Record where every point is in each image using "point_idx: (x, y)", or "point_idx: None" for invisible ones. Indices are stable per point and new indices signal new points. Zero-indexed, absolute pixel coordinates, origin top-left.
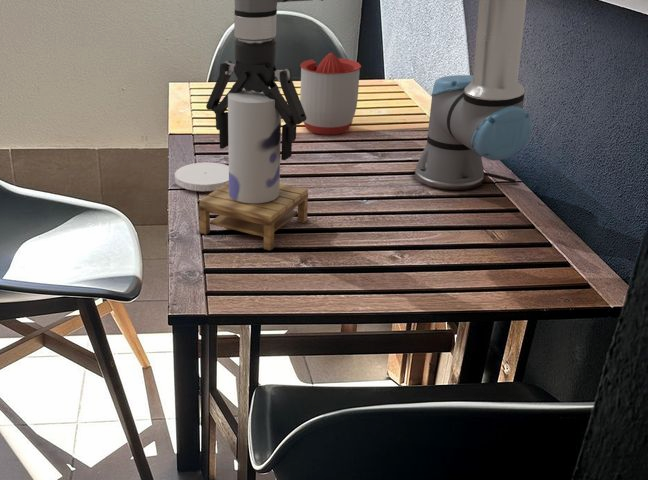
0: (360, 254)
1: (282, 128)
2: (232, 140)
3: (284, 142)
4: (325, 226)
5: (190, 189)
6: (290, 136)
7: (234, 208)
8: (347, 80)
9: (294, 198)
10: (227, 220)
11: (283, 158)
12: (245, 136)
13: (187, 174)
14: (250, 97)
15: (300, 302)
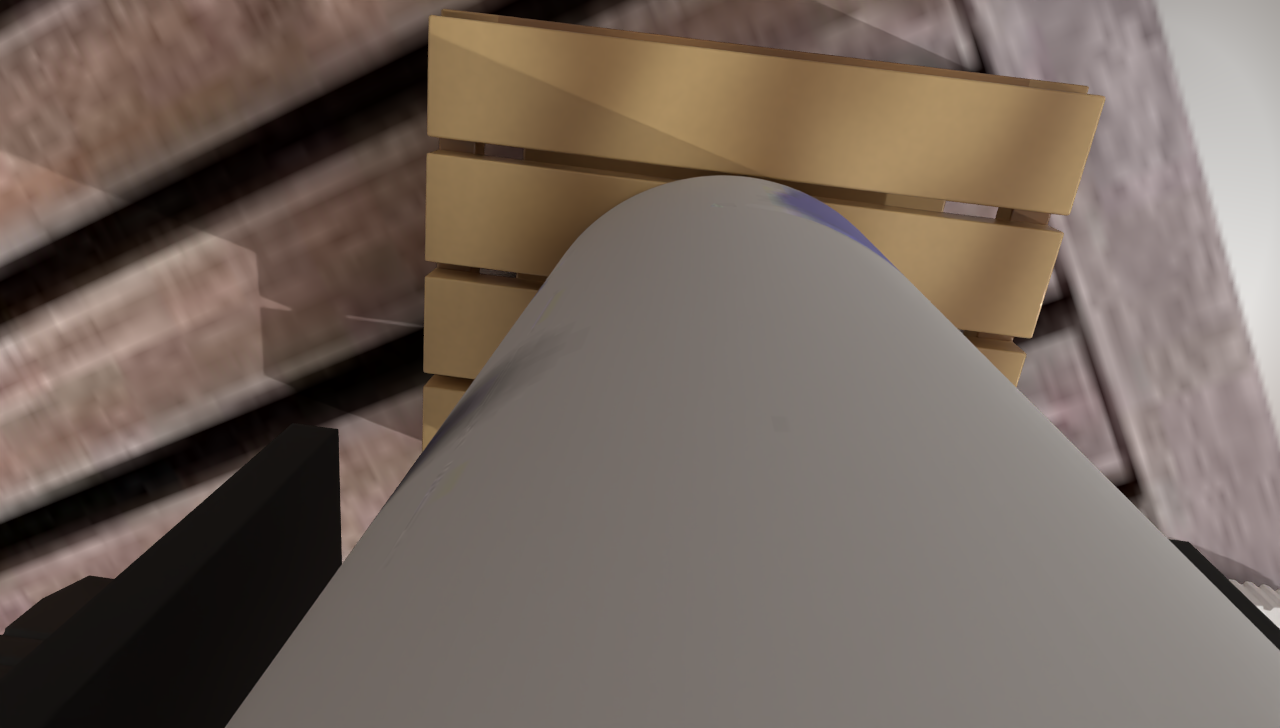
0: (58, 184)
1: (42, 720)
2: (1019, 399)
3: (170, 546)
4: (366, 432)
5: (1234, 582)
6: (33, 641)
7: (765, 56)
8: None
9: (427, 396)
10: (853, 192)
11: (304, 436)
12: (743, 370)
13: None
14: None
15: None
